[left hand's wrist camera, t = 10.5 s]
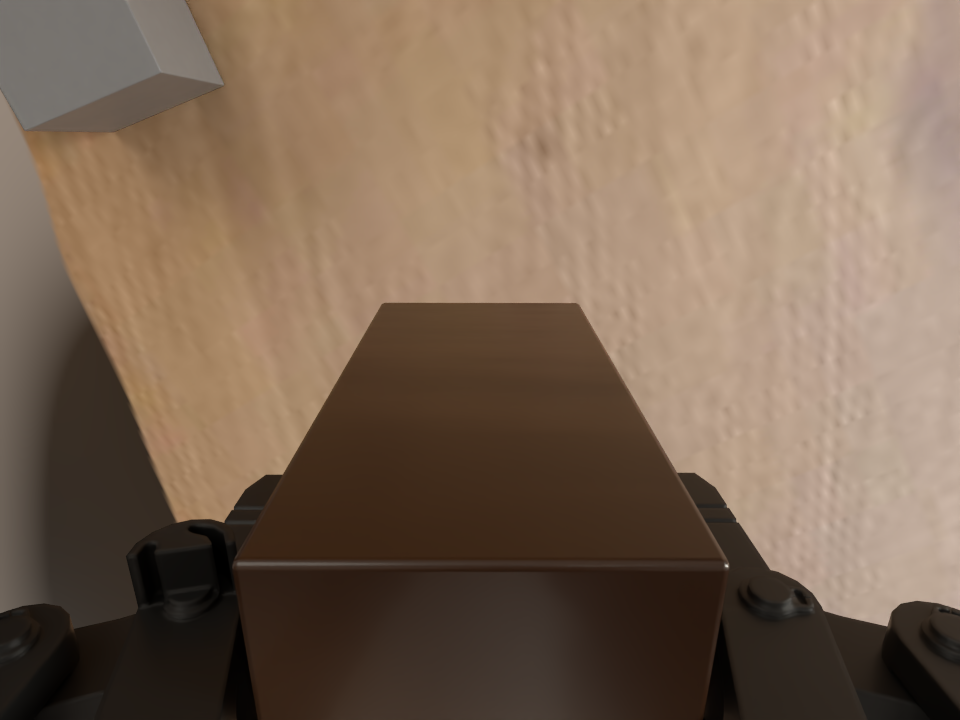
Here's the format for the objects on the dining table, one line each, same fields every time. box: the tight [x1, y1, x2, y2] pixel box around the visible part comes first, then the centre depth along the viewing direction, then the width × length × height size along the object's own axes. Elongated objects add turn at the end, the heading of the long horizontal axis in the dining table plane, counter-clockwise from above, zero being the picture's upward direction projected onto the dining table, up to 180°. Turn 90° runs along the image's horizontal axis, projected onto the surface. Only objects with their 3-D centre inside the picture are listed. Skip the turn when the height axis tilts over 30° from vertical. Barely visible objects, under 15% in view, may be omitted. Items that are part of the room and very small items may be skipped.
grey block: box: [0, 0, 224, 132], centre depth 21 cm, size 5×5×5 cm
